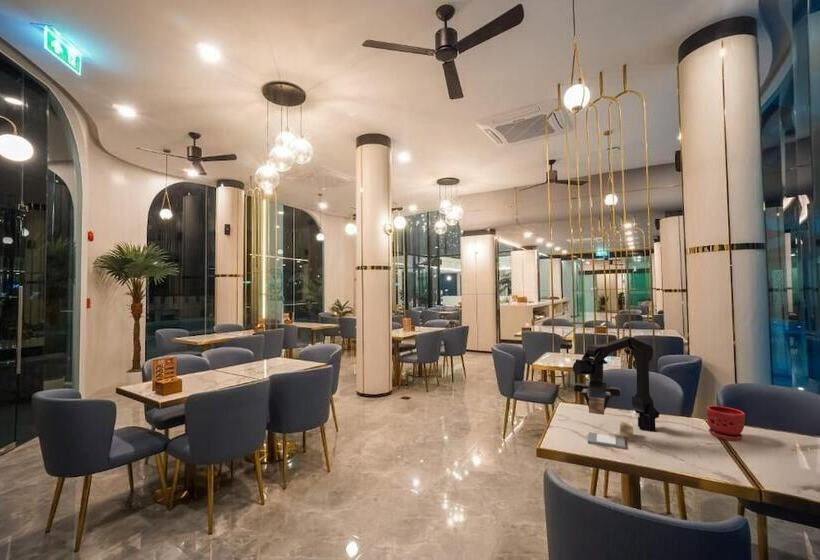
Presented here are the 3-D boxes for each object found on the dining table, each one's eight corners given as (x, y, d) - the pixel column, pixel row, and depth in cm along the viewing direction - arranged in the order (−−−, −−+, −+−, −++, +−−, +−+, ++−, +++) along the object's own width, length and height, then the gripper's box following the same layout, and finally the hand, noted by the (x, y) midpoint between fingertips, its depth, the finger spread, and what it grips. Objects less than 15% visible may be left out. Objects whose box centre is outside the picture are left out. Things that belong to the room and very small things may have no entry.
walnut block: (604, 409, 176) (604, 398, 176) (603, 414, 169) (603, 403, 169) (590, 407, 179) (590, 397, 179) (588, 412, 172) (588, 401, 172)
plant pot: (747, 445, 161) (746, 416, 161) (707, 437, 169) (706, 410, 169) (744, 435, 171) (743, 408, 171) (707, 429, 179) (706, 403, 179)
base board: (624, 439, 167) (624, 436, 167) (625, 449, 158) (625, 446, 158) (588, 434, 174) (588, 431, 174) (587, 443, 164) (587, 440, 164)
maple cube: (632, 434, 174) (632, 423, 174) (633, 438, 169) (632, 426, 169) (619, 432, 176) (619, 421, 176) (620, 436, 172) (619, 424, 172)
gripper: (572, 375, 172) (572, 410, 171) (619, 379, 163) (620, 416, 162) (574, 370, 182) (575, 403, 181) (619, 374, 173) (620, 409, 172)
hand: (596, 408), depth 174 cm, fingers closed on walnut block, 6 cm apart
